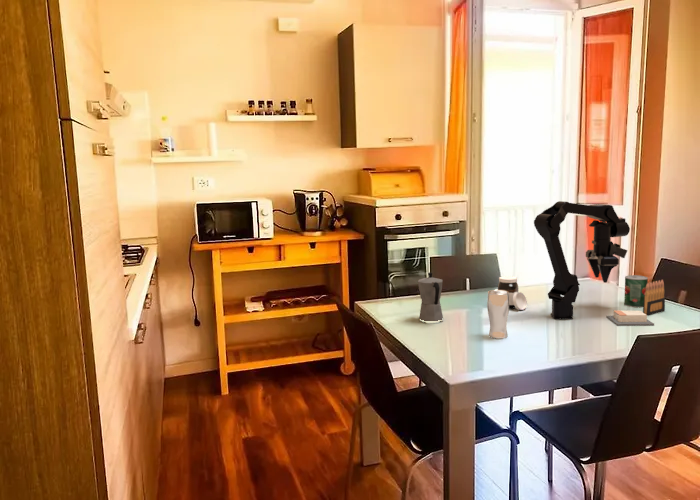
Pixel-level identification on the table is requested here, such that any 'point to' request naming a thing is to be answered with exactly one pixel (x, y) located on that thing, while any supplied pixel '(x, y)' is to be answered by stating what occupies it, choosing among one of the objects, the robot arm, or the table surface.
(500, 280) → the spread jar
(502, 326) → the beer glass
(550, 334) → the table surface
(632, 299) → the canned tomato
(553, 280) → the robot arm
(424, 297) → the coffeepot
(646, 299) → the ammunition clip
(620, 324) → the card mat
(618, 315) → the card deck
